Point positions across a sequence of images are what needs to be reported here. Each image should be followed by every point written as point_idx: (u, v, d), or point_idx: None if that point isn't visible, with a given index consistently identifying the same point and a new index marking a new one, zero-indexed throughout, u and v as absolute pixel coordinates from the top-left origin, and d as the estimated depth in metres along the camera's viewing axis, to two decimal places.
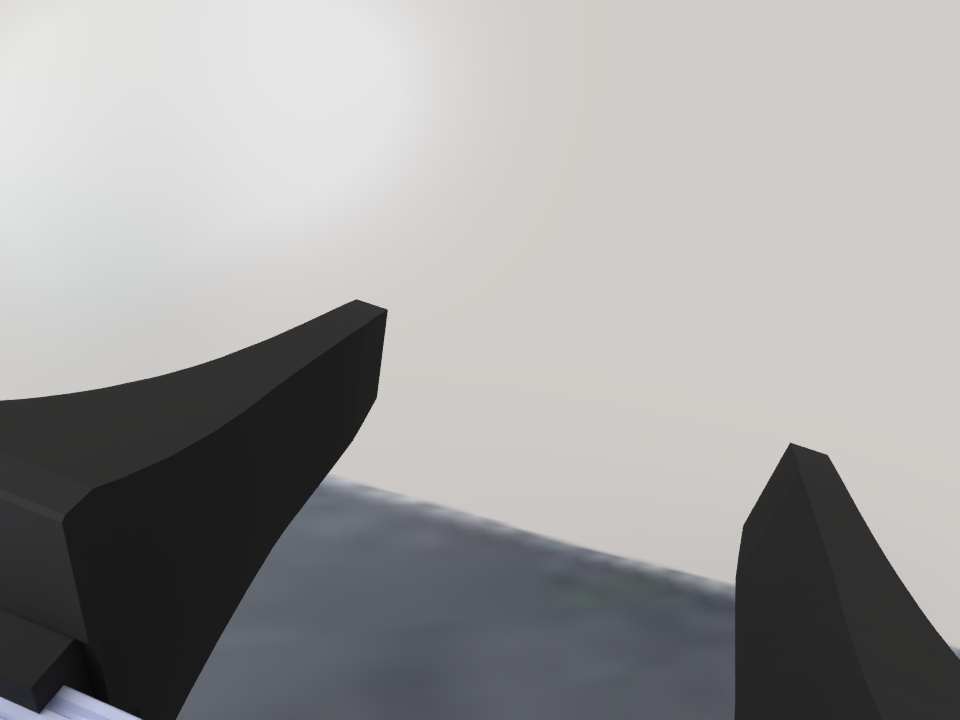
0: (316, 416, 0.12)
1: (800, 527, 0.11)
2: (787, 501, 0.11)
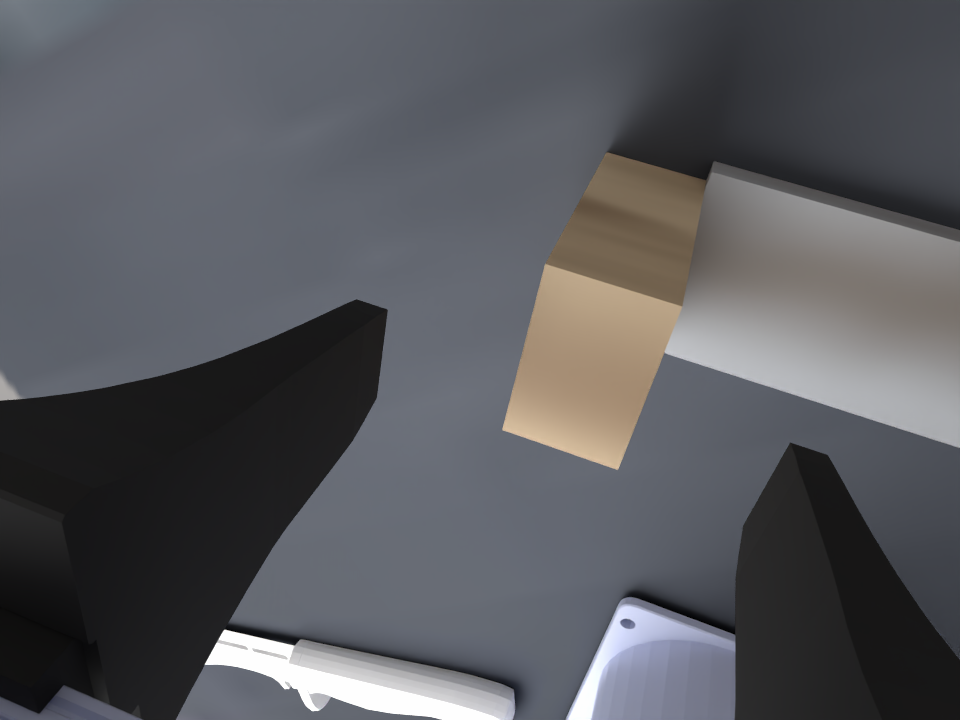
0: (317, 416, 0.12)
1: (800, 527, 0.11)
2: (787, 501, 0.11)
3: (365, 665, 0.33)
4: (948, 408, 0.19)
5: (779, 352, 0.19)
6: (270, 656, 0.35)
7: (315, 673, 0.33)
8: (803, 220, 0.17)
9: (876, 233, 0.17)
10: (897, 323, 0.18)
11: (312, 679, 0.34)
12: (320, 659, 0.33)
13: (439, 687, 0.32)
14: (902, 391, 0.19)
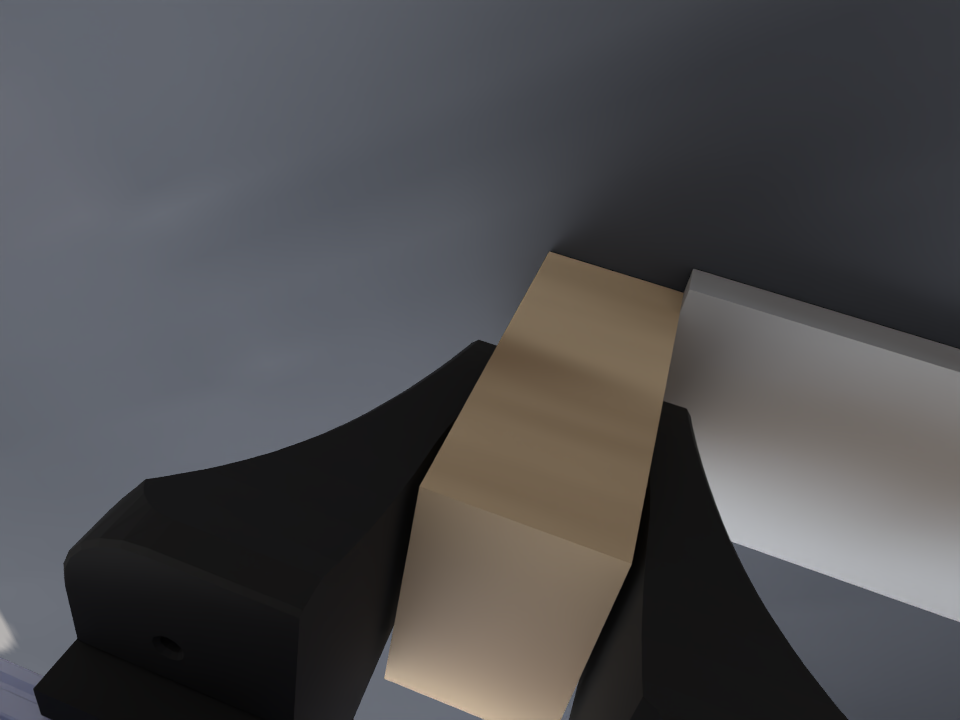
0: None
1: None
2: None
3: None
4: None
5: (783, 516, 0.14)
6: None
7: None
8: (816, 356, 0.13)
9: (919, 379, 0.12)
10: (945, 492, 0.13)
11: None
12: None
13: None
14: (949, 573, 0.14)
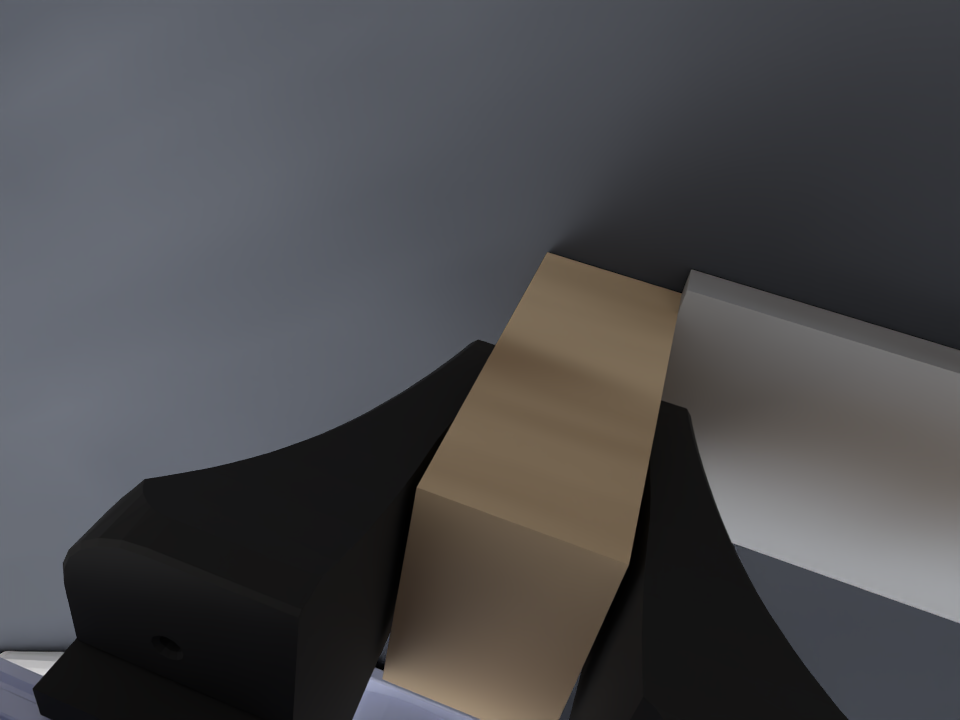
0: None
1: None
2: None
3: (47, 664, 0.28)
4: None
5: (781, 516, 0.14)
6: None
7: None
8: (814, 357, 0.13)
9: (917, 379, 0.12)
10: (943, 492, 0.13)
11: None
12: None
13: None
14: (947, 574, 0.14)
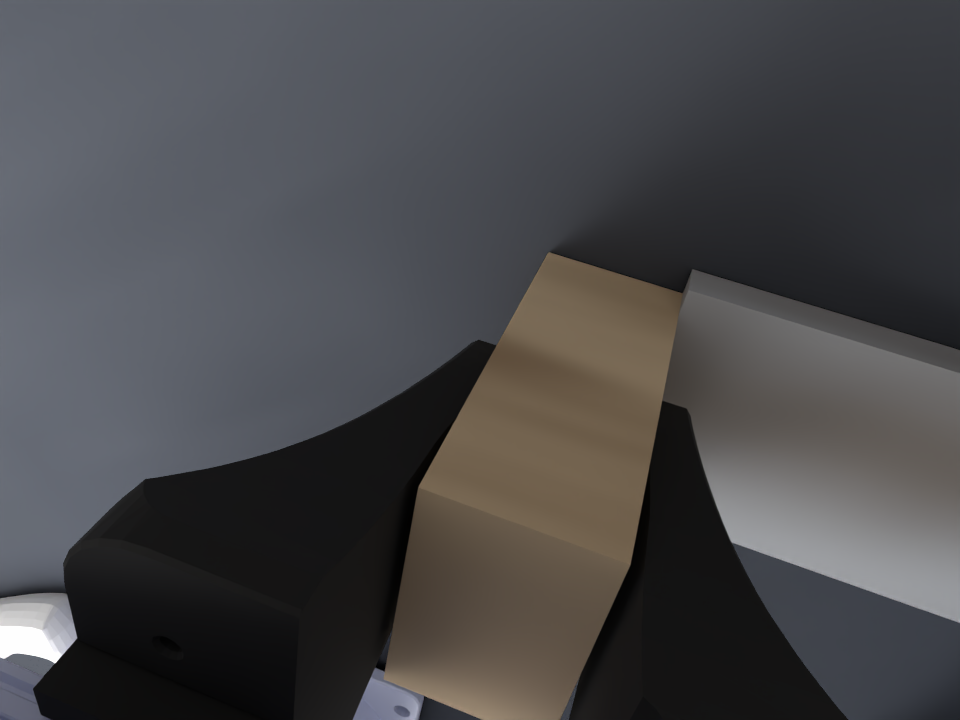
0: None
1: None
2: None
3: None
4: None
5: (782, 516, 0.14)
6: None
7: None
8: (815, 357, 0.13)
9: (918, 379, 0.12)
10: (944, 493, 0.13)
11: None
12: None
13: None
14: (948, 574, 0.14)
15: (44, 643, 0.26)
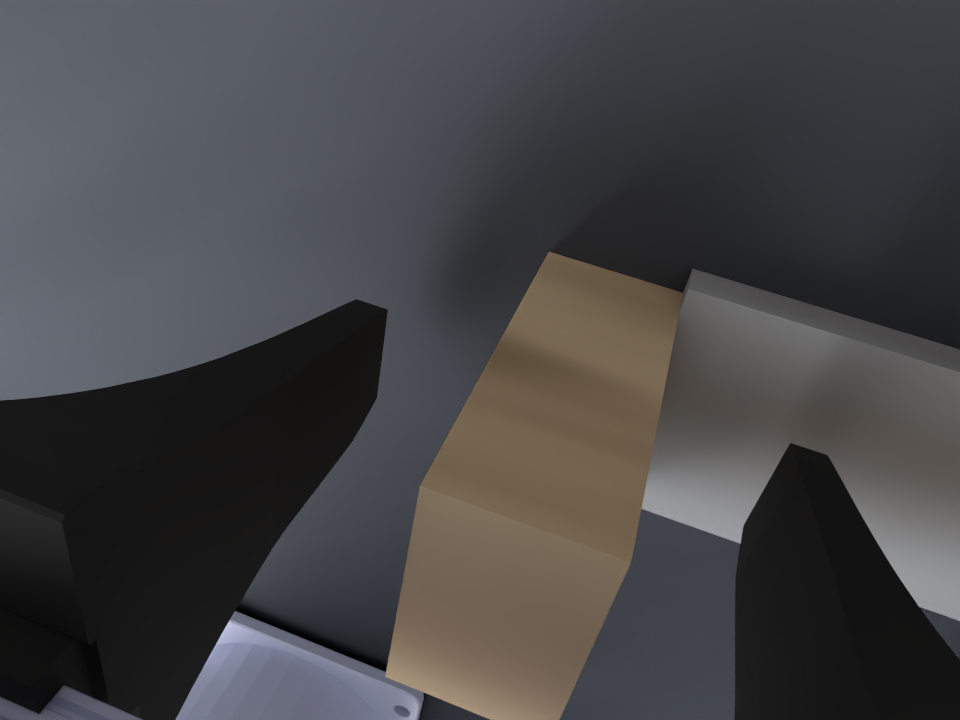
0: (316, 416, 0.12)
1: (800, 527, 0.11)
2: (787, 501, 0.11)
3: None
4: None
5: None
6: None
7: None
8: (815, 355, 0.13)
9: (918, 378, 0.12)
10: (943, 491, 0.13)
11: None
12: None
13: None
14: (947, 572, 0.14)
15: None
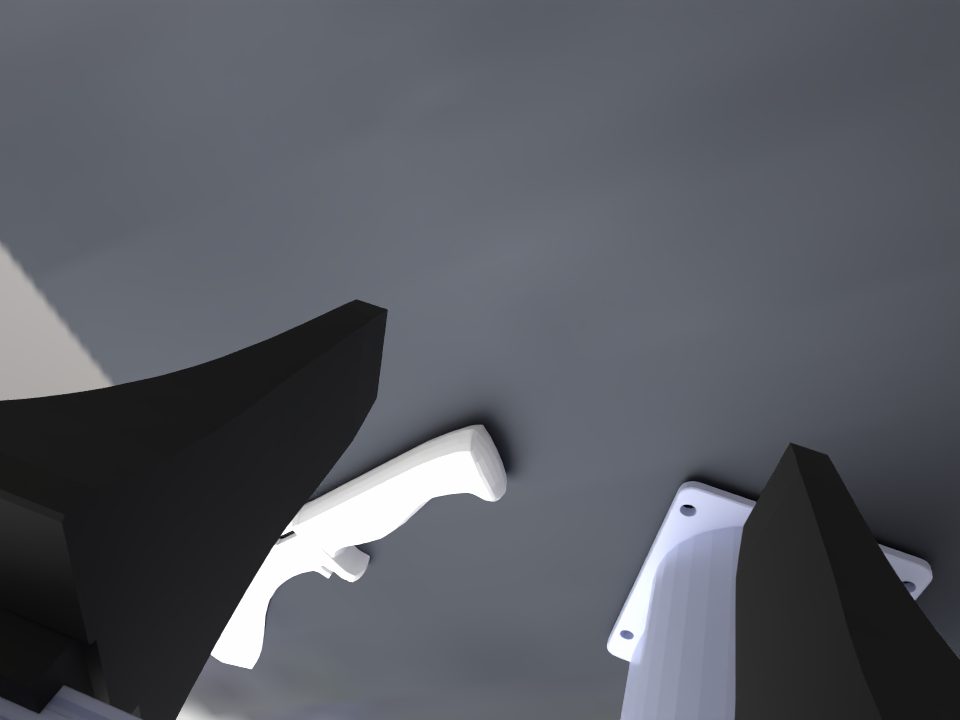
0: (316, 416, 0.12)
1: (800, 527, 0.11)
2: (787, 501, 0.11)
3: (347, 485, 0.29)
4: None
5: None
6: (289, 540, 0.33)
7: (314, 523, 0.30)
8: None
9: None
10: None
11: (318, 533, 0.31)
12: (314, 506, 0.30)
13: (407, 459, 0.27)
14: None
15: (470, 468, 0.26)
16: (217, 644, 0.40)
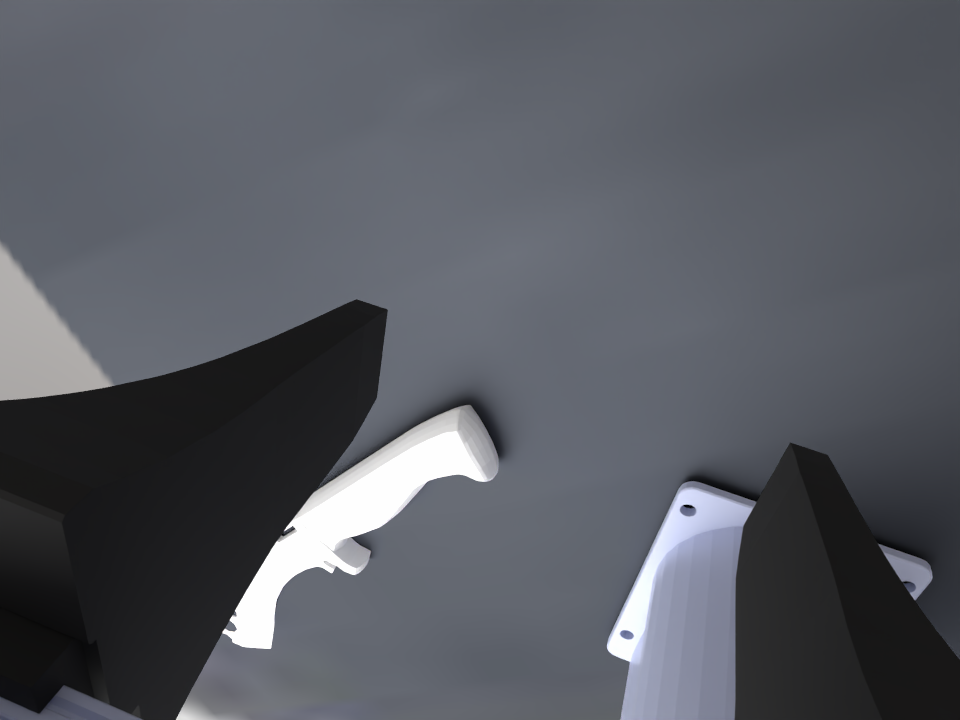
0: (316, 416, 0.12)
1: (800, 527, 0.11)
2: (787, 501, 0.11)
3: (342, 476, 0.29)
4: None
5: None
6: (290, 536, 0.33)
7: (312, 516, 0.30)
8: None
9: None
10: None
11: (316, 526, 0.30)
12: (311, 499, 0.30)
13: (397, 444, 0.27)
14: None
15: (459, 448, 0.26)
16: None
